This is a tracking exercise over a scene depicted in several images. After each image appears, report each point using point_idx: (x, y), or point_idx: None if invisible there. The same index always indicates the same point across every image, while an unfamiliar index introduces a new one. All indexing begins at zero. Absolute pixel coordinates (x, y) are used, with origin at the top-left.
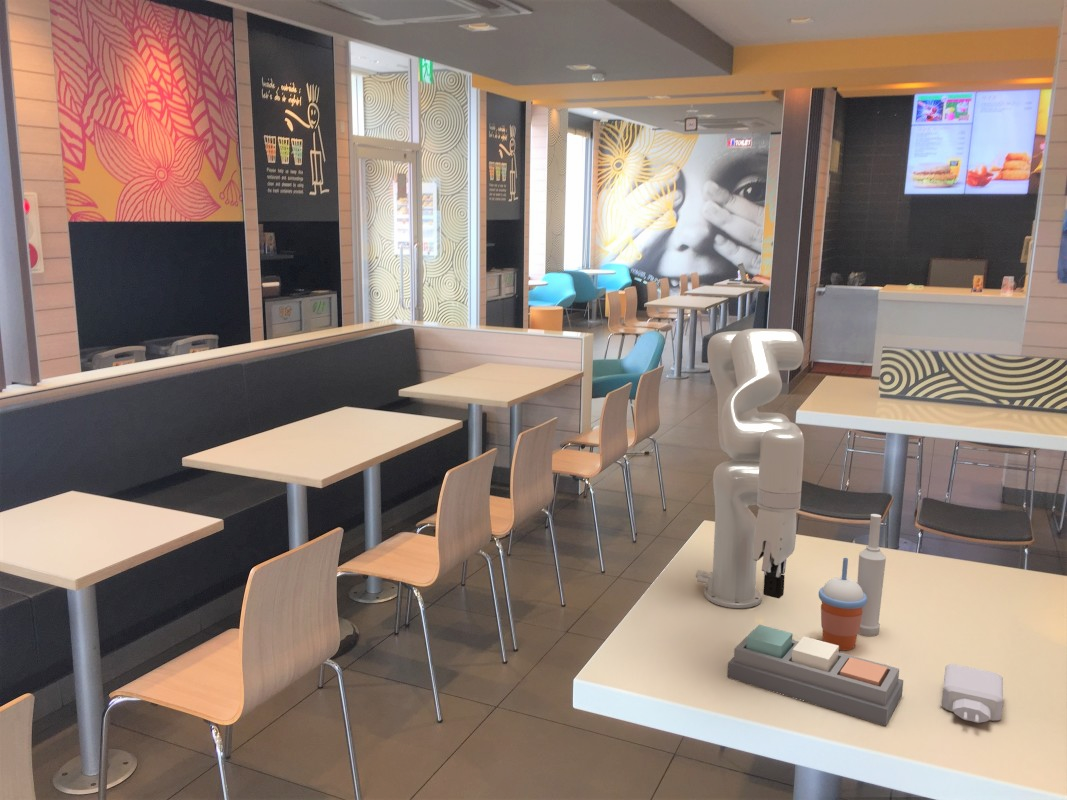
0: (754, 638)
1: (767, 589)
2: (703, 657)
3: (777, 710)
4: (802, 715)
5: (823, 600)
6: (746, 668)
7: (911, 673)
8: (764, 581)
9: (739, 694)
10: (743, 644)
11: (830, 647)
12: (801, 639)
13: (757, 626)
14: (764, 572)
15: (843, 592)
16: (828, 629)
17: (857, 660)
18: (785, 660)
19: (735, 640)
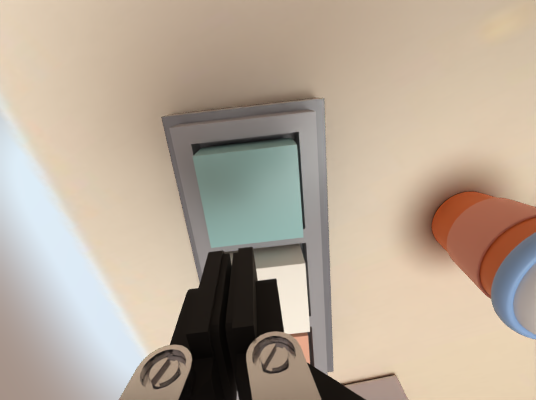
0: (199, 177)
1: (186, 299)
2: (215, 12)
3: (142, 242)
4: (161, 276)
5: (515, 253)
6: (172, 164)
7: (407, 336)
8: (197, 296)
9: (134, 167)
10: (209, 135)
11: (288, 323)
12: (284, 266)
13: (279, 146)
14: (135, 377)
15: None
16: (456, 229)
17: (302, 348)
18: (208, 248)
19: (354, 32)
